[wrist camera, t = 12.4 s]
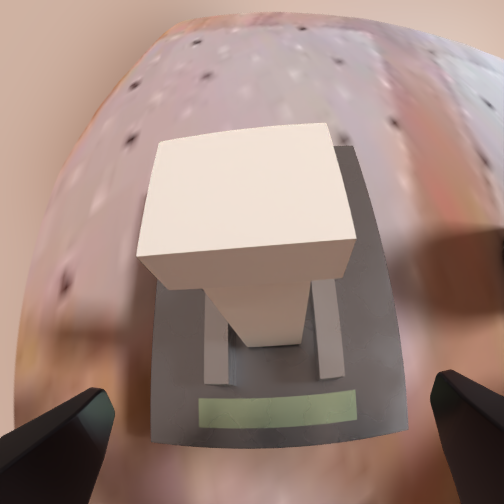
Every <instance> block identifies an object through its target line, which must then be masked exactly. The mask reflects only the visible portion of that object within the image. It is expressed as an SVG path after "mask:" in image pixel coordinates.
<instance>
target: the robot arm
mask: <svg viewBox="0 0 504 504" xmlns="http://www.w3.org/2000/svg"><path fill="white" fill-rule="evenodd" d="M430 402H431V406H432V410H433V413H434V417H435V421H436V424H437V428H438V432H439V436H440V440H441V444H442V448H443V451H444V454H445V456H446V459H447V462H448V465H449V468H450V470H451V473H452V476H453V479H454V482H455V485H456V488H457V492H458V495H459V498H460V501H461V504H504V397H503V396H501V395H499V394H497V393H495V392H493V391H492V390H490V389H488V388H486V387H484V386H482V385H480V384H478V383H476V382H474V381H473V380H471V379H469V378H467V377H465V376H463V375H461V374H459V373H457V372H456V371H454V370H446V371H442V372H439V373H438V374H437V375H436V378H435V382H434V385H433V388H432V392H431V395H430ZM114 417H115V411H114V408H113V406H112V404H111V401H110V399H109V397H108V395H107V393H106V391H105V390H104V389H101V388H94V387H91V388H89V389H87V390H85V391H84V392H82V393H80V394H78V395H77V396H75V397H73V398H71V399H70V400H68V401H66V402H64V403H62V404H61V405H59V406H57V407H55V408H54V409H52V410H50V411H48V412H46V413H45V414H43V415H41V416H39V417H37V418H35V419H34V420H32V421H30V422H28V423H26V424H24V425H22V426H21V427H19V428H17V429H15V430H13V431H11V432H9V433H8V434H6V435H4V436H2V437H1V438H0V504H88V503H89V500H90V497H91V494H92V491H93V488H94V485H95V483H96V480H97V477H98V474H99V471H100V468H101V466H102V463H103V460H104V456H105V453H106V449H107V445H108V441H109V437H110V433H111V429H112V425H113V421H114Z"/></svg>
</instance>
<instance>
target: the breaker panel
mask: <svg viewBox="0 0 504 504" xmlns="http://www.w3.org/2000/svg"><path fill="white" fill-rule="evenodd" d="M333 147H334V150H335V154H336V157H337V161H338V164H339V168H340V172H341V175H342V179H343V183H344V187H345V191H346V195H347V199H348V203H349V207H350V211H351V216H352V220H353V224H354V229H355V234H356V238H357V239H356V242H355V244H354V247H353V250H352V253H351V256H350V259H349V262H348V264H347V267H346V270H345V272H344V275H343V278H337V279H326V280H314V281H311V283H310V290H309V297H308V304H307V310H306V316H305V322H304V329H303V334H302V340H301V344H293V345H279V346H263V347H247V346H246V345H245V344H244V342H243V341H242V340H241V338H240V337H239V336H238V335H237V333H236V332H235V331H234V330H233V328H232V327H231V326H230V324H229V323H228V322H227V321H226V319H225V318H224V317H223V315H222V314H221V313H220V311H219V310H218V309H217V307H216V306H215V305H214V303H213V302H212V301H211V299H210V298H209V297H208V295H207V294H206V293H205V291H204V290H203V289H184V290H168V289H167V288H166V287H165V286H164V285H163V284H162V283H161V282H160V281H159V280H158V279H157V289H156V300H155V313H154V327H153V343H152V365H151V442H154V443H162V444H171V445H181V446H193V447H208V448H238V449H255V448H285V447H300V446H312V445H322V444H331V443H339V442H346V441H353V440H359V439H365V438H371V437H376V436H381V435H386V434H391V433H396V432H400V431H404V430H408V412H407V398H406V386H405V375H404V366H403V358H402V350H401V342H400V335H399V329H398V322H397V316H396V310H395V305H394V299H393V294H392V289H391V283H390V279H389V274H388V269H387V264H386V260H385V256H384V251H383V247H382V243H381V239H380V235H379V231H378V227H377V223H376V219H375V216H374V212H373V208H372V205H371V201H370V198H369V194H368V191H367V188H366V184H365V181H364V178H363V175H362V171H361V168H360V165H359V162H358V159H357V156H356V153H355V150H354V147H353V146H333Z"/></svg>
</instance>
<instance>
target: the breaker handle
mask: <svg viewBox="0 0 504 504" xmlns="http://www.w3.org/2000/svg"><path fill="white" fill-rule="evenodd" d="M356 239H357V238H356V234H355V229H354V224H353V220H352V216H351V211H350V207H349V203H348V199H347V195H346V191H345V187H344V183H343V179H342V175H341V172H340V168H339V164H338V161H337V157H336V154H335V150H334V147H333V143H332V140H331V137H330V133H329V130H328V127H327V124H326V123H311V124H294V125H280V126H269V127H258V128H248V129H240V130H231V131H224V132H216V133H209V134H203V135H196V136H190V137H184V138H178V139H173V140H167V141H162V142H159V145H158V149H157V153H156V157H155V161H154V166H153V170H152V174H151V179H150V183H149V188H148V193H147V198H146V203H145V208H144V213H143V218H142V224H141V229H140V235H139V241H138V248H137V254H136V257H137V258H138V259H139V260H140V261H141V262H142V263H143V264H144V265H145V266H146V268H147V269H148V270H149V271H150V272H151V273H152V274H153V275H154V276H155V277H156V278H157V279H158V280H159V281H160V282H161V283H162V284H163V285H164V286H165V287H166V288H167V289H168V290H184V289H203V290H204V291H205V293H206V294H207V295H208V297H209V298H210V299H211V301H212V302H213V303H214V305H215V306H216V307H217V309H218V310H219V311H220V313H221V314H222V315H223V317H224V318H225V319H226V321H227V322H228V323H229V324H230V326H231V327H232V328H233V330H234V331H235V332H236V333H237V335H238V336H239V337H240V338H241V340H242V341H243V342H244V344H245V345H246V346H247V347H263V346H279V345H293V344H301V340H302V334H303V329H304V322H305V316H306V310H307V304H308V297H309V290H310V283H311V281H314V280H326V279H337V278H343V275H344V272H345V270H346V267H347V264H348V262H349V259H350V256H351V253H352V250H353V247H354V244H355V242H356Z"/></svg>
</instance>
